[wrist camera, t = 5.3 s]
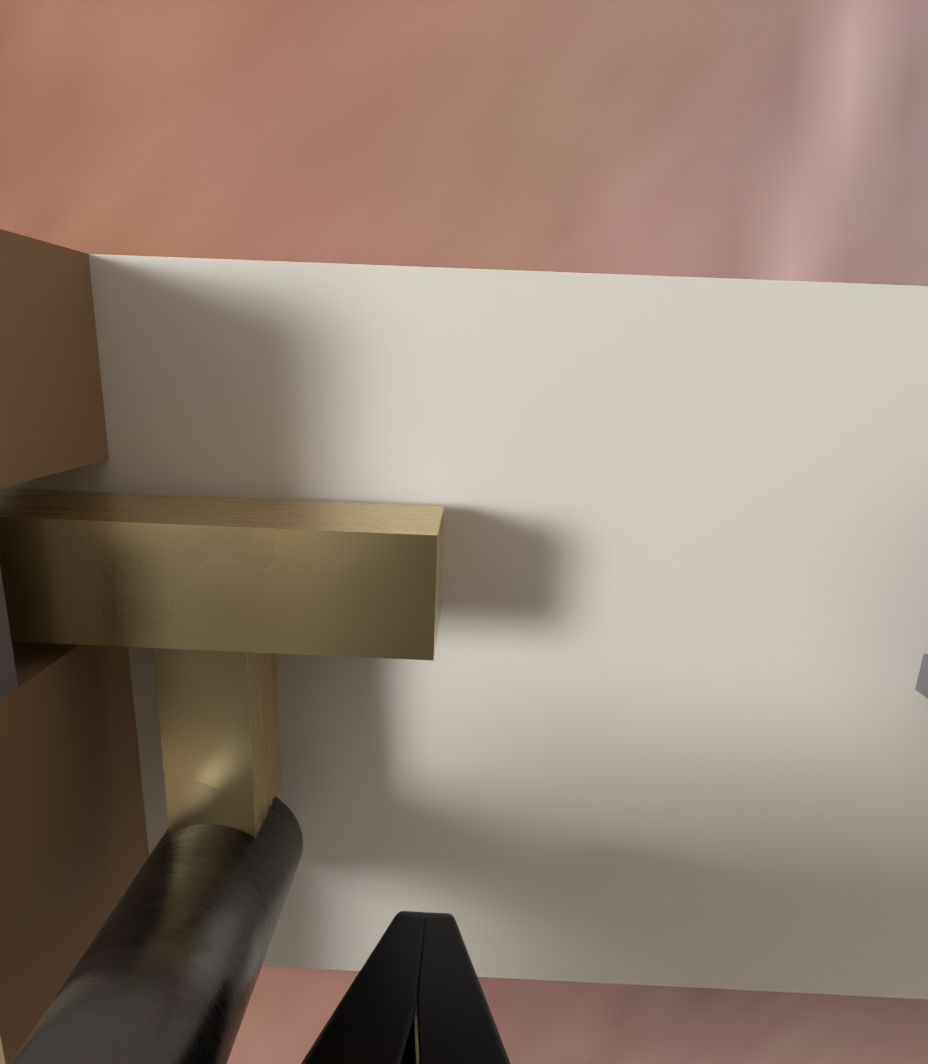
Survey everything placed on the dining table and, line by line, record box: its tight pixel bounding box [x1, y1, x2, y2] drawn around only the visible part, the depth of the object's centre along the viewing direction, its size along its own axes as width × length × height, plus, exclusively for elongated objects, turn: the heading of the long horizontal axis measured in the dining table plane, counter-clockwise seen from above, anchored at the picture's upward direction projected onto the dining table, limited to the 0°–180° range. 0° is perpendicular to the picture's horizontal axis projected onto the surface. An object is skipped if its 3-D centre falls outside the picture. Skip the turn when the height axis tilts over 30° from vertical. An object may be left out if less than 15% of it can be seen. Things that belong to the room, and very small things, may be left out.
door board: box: [0, 229, 928, 1064], centre depth 9 cm, size 12×24×6 cm, turn 88°
